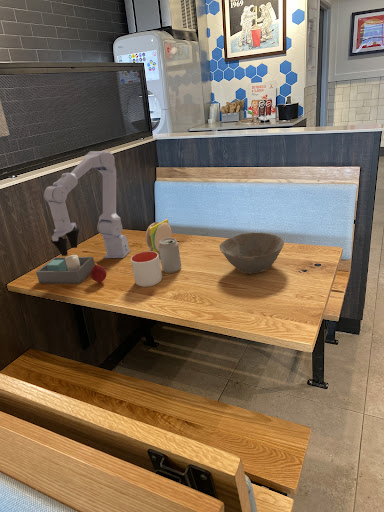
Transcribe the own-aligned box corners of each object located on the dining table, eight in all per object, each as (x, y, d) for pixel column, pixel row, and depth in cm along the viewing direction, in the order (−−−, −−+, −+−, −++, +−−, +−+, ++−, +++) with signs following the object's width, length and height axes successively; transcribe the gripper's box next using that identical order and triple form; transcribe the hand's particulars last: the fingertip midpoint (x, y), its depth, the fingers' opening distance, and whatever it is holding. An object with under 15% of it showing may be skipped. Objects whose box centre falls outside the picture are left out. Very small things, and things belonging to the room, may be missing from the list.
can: (179, 273, 147) (174, 243, 142) (160, 273, 148) (155, 244, 144) (183, 265, 153) (179, 236, 149) (165, 265, 155) (160, 237, 150)
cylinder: (84, 270, 158) (80, 254, 155) (78, 276, 153) (73, 260, 150) (73, 270, 159) (68, 254, 156) (66, 276, 154) (62, 260, 152)
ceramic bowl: (296, 263, 143) (296, 237, 139) (261, 289, 129) (259, 262, 125) (246, 252, 158) (245, 228, 154) (209, 274, 143) (207, 249, 139)
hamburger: (160, 243, 178) (156, 218, 173) (175, 245, 174) (172, 219, 169) (144, 253, 169) (139, 227, 164) (159, 256, 165) (154, 229, 160)
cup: (141, 291, 138) (136, 265, 134) (131, 280, 146) (126, 256, 142) (166, 282, 141) (162, 257, 137) (156, 273, 150) (152, 248, 146)
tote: (95, 267, 161) (93, 256, 159) (79, 283, 149) (76, 271, 147) (57, 268, 165) (54, 257, 163) (39, 283, 153) (35, 271, 151)
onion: (111, 279, 149) (106, 260, 146) (103, 286, 144) (98, 267, 141) (97, 278, 151) (93, 259, 148) (89, 285, 146) (84, 266, 143)
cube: (67, 270, 159) (64, 259, 157) (60, 276, 155) (57, 265, 153) (56, 270, 161) (53, 259, 159) (49, 276, 156) (46, 265, 154)
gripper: (61, 212, 154) (69, 244, 159) (40, 225, 141) (50, 259, 147) (77, 211, 152) (85, 244, 158) (58, 224, 139) (67, 259, 145)
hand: (69, 251), depth 152 cm, fingers open, 7 cm apart
